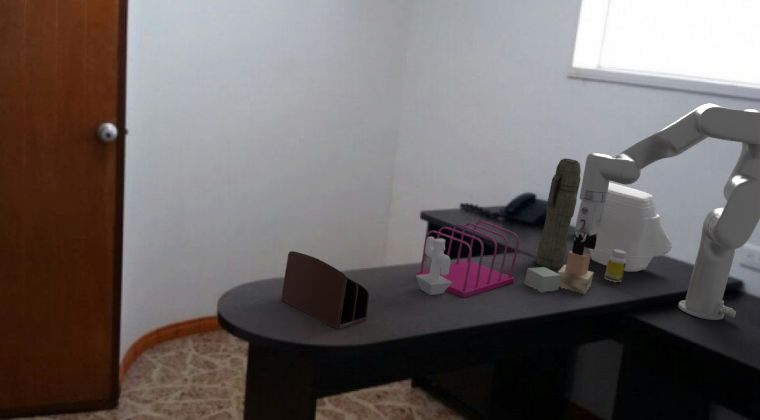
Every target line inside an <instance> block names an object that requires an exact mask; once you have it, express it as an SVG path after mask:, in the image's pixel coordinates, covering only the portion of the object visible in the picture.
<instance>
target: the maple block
mask: <svg viewBox="0 0 760 420" xmlns="http://www.w3.org/2000/svg"><path fill="white" fill-rule="evenodd" d="M565 269H566V264H563V265H562V268H560V269H558V272H557V273H558V274H560V275H561V279H560V283H559V287H561V288H560V289H563V288H565V289H564V290H566V289H570V290H574V291H578V292H582V293H586V294H587V292H588V291H589V290H590V288H591V285H592V282H593V277H594V276H593V275H594V273H595V272H594V271H590V270H588V271H587V273H586V274H584V275H582V276H579V275H576V274H573V273H570V272H567V271H565ZM589 287H590V288H589ZM570 290H569V291H570ZM587 290H588V291H587ZM574 291H573V292H574ZM586 291H587V292H586Z"/></svg>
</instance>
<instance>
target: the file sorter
mask: <svg viewBox="0 0 760 420" xmlns="http://www.w3.org/2000/svg"><path fill="white" fill-rule="evenodd" d="M480 223H481V224H485V225H488V226H491V227H493V228H496V229H499V230H502V231H504V232H506V233H509V234H511V235H513V236H514V238H515V239H516V245H515V249H514V253H513V258H512V262H511V267H510V272H509V275H508V274H507V273H506V274H505V273H503V270H504V265H505V262H506V256H507V252H508V247H509V246H508V245H509V241H508V239H507V238H506V236H505V235H504V234H501V233H499V232H497V231H494V230H492V229H489V228H486V227H483V226H481V225H479V224H480ZM470 226H474V227H473V228H471V227H470ZM458 227H461V228H462V231H460V230H457V228H458ZM477 228H479V229H482V230H484V231H487V232H489V233H492V234H494V235H497V236H499V237H501V238H503V240H504V243H505V247H504V251H503V256H502V260H501V261H502V262H501V266H500V271H498V270H495V269H494V266H495V265H494V264H495V260H496V255H497V252H498V243H497V240H495V238H494V237H492V236H490V235H488V234H485V233H483V232H481V231H479V230H477ZM444 229H445V230H448V231H451V235H449V234H445V233H443V232H442V230H444ZM466 230H469V231H471V232H472V235H471V234H469V233H466ZM432 233H435V234H437V237H436V239H440V238H441V237H440V236H443V237H446V238H448V239H449V244H448V249H447V254H446V255H447V256H449V257H450V253H451V247H452V243H453V240H454V241H457V242H459V248H458V252H457V258H456V262H453V263H450V268H449V273H448V275H446V276H444V275H441V269H440V276H442V277H444V278H445V279H447V280H449V281H451V282H452V283H451V284H450V286H449V287H448V288H447V289H446V290H445V291H448V292H450V293H452V294H454V295H457V296H459V297H462V298H466V297H470V296H475V295H476V294H480V293H483V292H486V291H490V290H493V289H497V288H500V287H504V286H507V285H511V284H514V282H515V277H513V276H512V275H513V271H514V268H515V267H514V266H515V263H516V258H517V253H518V249H519V244H520V240H519V237H518V235H517V234H516V233H515V232H513V231H511V230H509V229H506V228H503V227H500V226H498V225H495V224H492V223H490V222H489V221H488V222H487V221H485V220H479V221H477V222H476V223H472V222H468V223H466V224H460V223H459V224H456V225H455V226H453V228H452V227H448V226H443V227H442V226H441V227H440V228H439V230H438V231H437V230H430V231H428V232H427V233H426V235H425V239H424V244H423V245H424V246H423V251H422V259H421V265H420V271H417V272H416V275H422V274H429V273H430V268H429V269H425V270H424V265H425V258H426V257H425V256H426V254H425V247H426V241H427V238H428V237H430V234H432ZM455 233H457V234H460V235H461V236H460V237H461V238H460V239H459V238H457V237H454V235H455ZM475 234H478V235H481V236H483V237H486V238H488V239H490V240H491V241H492V242H493V244H494V251H493V255H492V260H491V265H490V267H487V266H485V265H482V263H483V256H484V251H485V250H484V248H485V247H484V243H483V241H482V240H481V238H480V237H479V238H478V237H477V236H475ZM464 236H466V237H469V238H471V241H470V244H469V243H468V242H467V241H465V240H464ZM474 240H476V241H478V242H479V243H480V246H481V249H480V257H479V261H478V262H479V263H477V262H474V261H472V256H473V245H474ZM463 244H464V245H466V246H467V248H468V257H467V259H466V260H462V261H460V258H461V252H462V247H463Z"/></svg>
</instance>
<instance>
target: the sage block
mask: <svg viewBox="0 0 760 420" xmlns="http://www.w3.org/2000/svg"><path fill="white" fill-rule="evenodd" d="M524 279H525V280H524V285H526V286H527V287H530V288H532V287H533V288H534V289H533V288H532V289H533V290H535V289H537V290H538V291H537V290H536V291H537V292H539V291H540V292H539V293H546V292H545V291H550V292H555V291H554V290H559V289H560V288H559V283H560V279H561V275H560V274H558V272H556V271H553V270H551V268H547V267H543V266H541V267H527V269H526V274H525V278H524Z"/></svg>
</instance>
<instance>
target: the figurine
mask: <svg viewBox="0 0 760 420" xmlns="http://www.w3.org/2000/svg"><path fill="white" fill-rule="evenodd" d="M445 250H446V239H445V238H442V237H440V238H439V239H437V238H435V237H434V236H428V238H427V241H426V247H425V256H426V257H427V258H430V259H431V262H430V268H429V269H430V273H429V274H422V275H417V274H415V278H416V280H417V283H418V286H419V288H420V290H421V291H423V292H425V293H427V294H428V295H430V296H431V295H432V296H433V295H441V294H444V293H445V291H447V290H446V289H447V288H448V287H449V286H450V284H451V283H452V282H451V281H449V280H447V279H445V278H444V277H442V276H440V269H441V275H444V276H446V275H448V273H449V268H450V264H451V258H450V255H449V256H447V254H445V253H444V252H445Z"/></svg>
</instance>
